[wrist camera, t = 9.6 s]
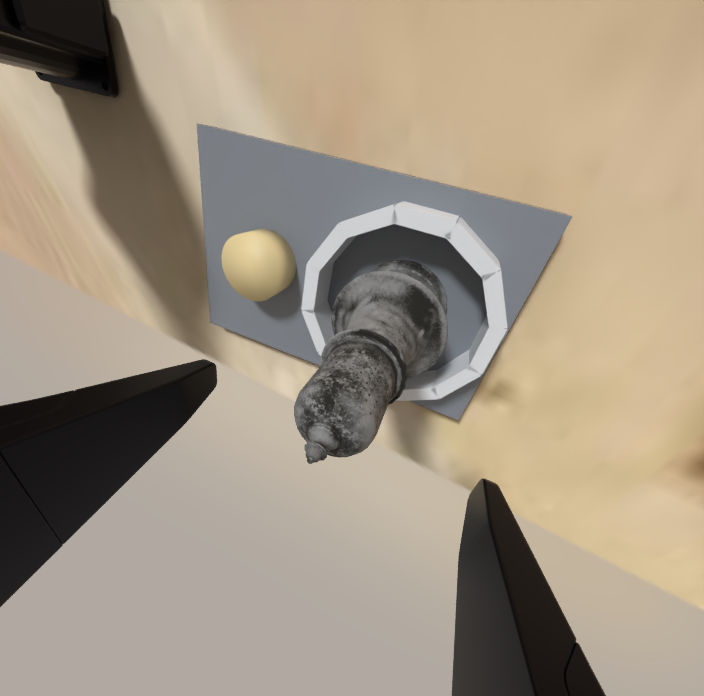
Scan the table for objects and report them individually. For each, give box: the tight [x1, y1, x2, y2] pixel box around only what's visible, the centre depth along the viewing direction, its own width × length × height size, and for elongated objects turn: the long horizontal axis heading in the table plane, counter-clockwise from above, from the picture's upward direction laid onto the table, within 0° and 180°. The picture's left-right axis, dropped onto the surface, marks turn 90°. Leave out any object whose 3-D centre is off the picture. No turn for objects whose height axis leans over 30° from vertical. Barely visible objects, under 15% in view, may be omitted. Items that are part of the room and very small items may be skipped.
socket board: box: [197, 124, 572, 420], centre depth 18 cm, size 20×13×3 cm, turn 78°
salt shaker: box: [294, 260, 448, 464], centre depth 13 cm, size 6×6×12 cm
